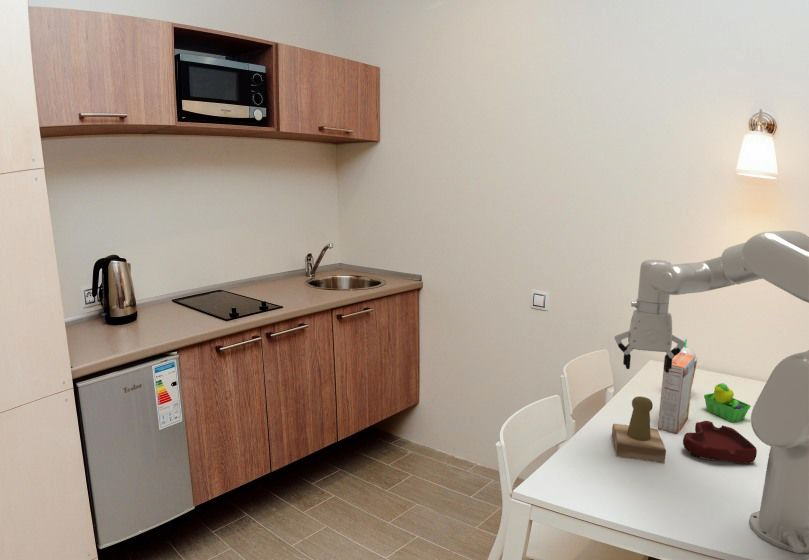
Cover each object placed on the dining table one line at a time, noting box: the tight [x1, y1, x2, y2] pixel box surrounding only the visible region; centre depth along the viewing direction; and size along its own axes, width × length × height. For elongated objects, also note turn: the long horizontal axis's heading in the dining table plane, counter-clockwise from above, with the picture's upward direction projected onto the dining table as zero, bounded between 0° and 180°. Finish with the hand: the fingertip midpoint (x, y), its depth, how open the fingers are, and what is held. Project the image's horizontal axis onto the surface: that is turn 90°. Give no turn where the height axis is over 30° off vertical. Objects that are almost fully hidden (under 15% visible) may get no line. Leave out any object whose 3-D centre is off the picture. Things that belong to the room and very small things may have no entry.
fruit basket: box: [703, 382, 752, 423], centre depth 171 cm, size 11×9×11 cm
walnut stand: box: [611, 423, 667, 464], centre depth 149 cm, size 12×12×4 cm
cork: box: [627, 396, 653, 441], centre depth 148 cm, size 6×6×11 cm
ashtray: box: [682, 420, 758, 465], centre depth 148 cm, size 18×16×5 cm
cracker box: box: [657, 353, 695, 435], centre depth 163 cm, size 14×6×21 cm, turn 141°
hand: (646, 369), depth 145 cm, fingers open, 9 cm apart
